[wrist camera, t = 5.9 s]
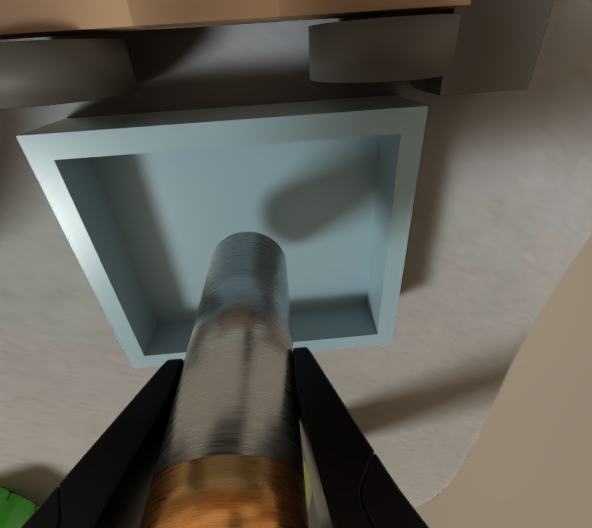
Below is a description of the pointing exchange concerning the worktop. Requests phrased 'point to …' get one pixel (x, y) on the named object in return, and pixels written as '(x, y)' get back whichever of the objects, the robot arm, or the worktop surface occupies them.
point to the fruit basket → (14, 509)
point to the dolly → (276, 8)
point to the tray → (238, 211)
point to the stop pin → (235, 403)
